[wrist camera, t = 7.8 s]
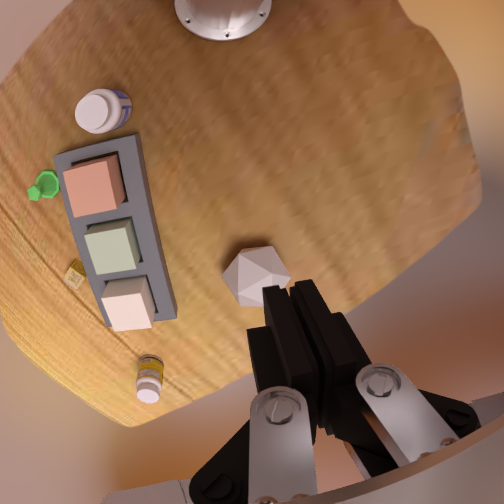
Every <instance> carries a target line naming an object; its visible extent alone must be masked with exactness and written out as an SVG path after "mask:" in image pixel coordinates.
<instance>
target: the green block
mask: <svg viewBox="0 0 504 504" xmlns="http://www.w3.org/2000/svg"><path fill="white" fill-rule="evenodd" d="M84 237H85V240H86V243H87V246H88V250H89V253H90V256H91V259H92V262H93V265H94V268H95V271H96V274H97V275H99V274H106V273H112V272H119V271H125V270H132V269H136V268H137V265H138V263H139V260H140V257H141V250H140V246H139V243H138V239H137V235H136V231H135V227H134V223H133V218H132V216H129V217H124V218H119V219H114V220H108V221H103V222H98V223H94V224H93V225H92V226H91V227H90V228H89V230H88V231H87V232H86V233H85V235H84Z"/></svg>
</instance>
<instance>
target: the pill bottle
mask: <svg viewBox="0 0 504 504" xmlns="http://www.w3.org/2000/svg"><path fill="white" fill-rule="evenodd" d="M131 112H132V103H131V100H130V98H129V97H128V96H127V95H126V94H125V93H124V92H122V91H119V90H111V89H96V90H93V91H91V92H89V93H88V94H87V95H86V96H85V97H84V98H82V99H81V100H80V102H79V103H78V105H77V107H76V110H75V118H76V121H77V123H78V125H79V126H80V127H82V128H83V129H85V130H86V131H88V132H90V133H94V134H101V133H105V132H108V131H111V130H114V129H117V128H119V127H121V126H123V125H124V124H125V123H126V122H127V121H128V120H129V118H130V116H131Z"/></svg>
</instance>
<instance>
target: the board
mask: <svg viewBox="0 0 504 504" xmlns="http://www.w3.org/2000/svg"><path fill="white" fill-rule="evenodd" d="M114 151H118V152H119V157H120V163H121V168H122V173H123V178H124V183H125V187H126V192H127V197H126V198H125V199H124V200H123V202H122V203H121V204H120V205H119V207H118V208H117V209H114V210H109V211H104V212H99V213H94V214H90V215H85V216H80V217H76V218H74V215H73V211H72V208H71V204H70V200H69V196H68V192H67V188H66V184H65V180H64V176H63V171H65V170H67V169H69V168H71V167H72V166H74V165H76V164H79V160H82V159H86V158H90V157H93V156H97V155H102V154H106V153H110V152H114ZM53 158H54V163H55V167H56V172H57V176H58V180H59V184H60V189H61V193H62V196H63V200H64V204H65V208H66V211H67V215H68V219H69V222H70V225H71V229H72V232H73V235H74V239H75V242H76V245H77V248H78V251H79V254H80V257H81V260H82V263H83V266H84V269H85V272H86V274H87V277H88V280H89V283H90V285H91V288H92V291H93V293H94V296H95V298H96V301H97V303H98V306H99V308H100V311H101V313H102V316H103V318H104V321H105V323H106V325H107V327H110V326H112V324H111V322H110V320H109V317H108V315H107V312H106V310H105V307H104V305H103V302H102V300H101V297H102V295H103V293H104V291H105V288H106V286H107V284H108V282H109V280H112V279H119V278H126V277H133V276H139V275H146V274H147V276H148V279H149V283H150V286H151V289H152V293H153V296H154V299H155V303H154V304H155V307H156V308H155V313H154V319H153V322H154V321H162V320H170V319H176V318H177V304H176V301H175V297H174V293H173V289H172V285H171V282H170V278H169V274H168V270H167V266H166V262H165V258H164V254H163V249H162V245H161V241H160V236H159V232H158V228H157V223H156V219H155V214H154V209H153V204H152V200H151V195H150V190H149V185H148V179H147V174H146V169H145V163H144V158H143V152H142V146H141V140H140V134H139V133H137V134H133V135H128V136H124V137H119V138H115V139H111V140H107V141H103V142H99V143H95V144H91V145H87V146H83V147H80V148H76V149H73V150H69V151H66V152H62V153H60V154H57V155H55V156H53ZM129 216H132V218H133V223H134V227H135V231H136V235H137V239H138V243H139V246H140V250H141V257H140V260H139V263H138V265H137V268H136V269H132V270H125V271H119V272H112V273H106V274H99V275H97V274H96V271H95V268H94V265H93V262H92V259H91V256H90V253H89V250H88V246H87V243H86V240H85V237H84V235H85V233H86V232H87V231H88V230H89V228H90V227H91V226H92V225H93V224H94V223H98V222H103V221H108V220H114V219H119V218H124V217H129Z"/></svg>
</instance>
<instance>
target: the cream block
mask: <svg viewBox="0 0 504 504" xmlns="http://www.w3.org/2000/svg"><path fill="white" fill-rule="evenodd" d="M101 300H102V302H103V305H104V307H105V310H106V312H107V315H108V317H109V320H110V322H111V324H112V327H113V329H114V332H116V331H125V330H135V329H144V328H152V325H153V319H154V313H155V308H156V307H155V304H154V301H153V298H152V294H151V291H150V288H149V284H148V281H147V278H146V275H140V276H134V277H127V278H120V279H113V280H109V282H108V284H107V286H106V288H105V291H104V293H103V295H102V297H101Z"/></svg>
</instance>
